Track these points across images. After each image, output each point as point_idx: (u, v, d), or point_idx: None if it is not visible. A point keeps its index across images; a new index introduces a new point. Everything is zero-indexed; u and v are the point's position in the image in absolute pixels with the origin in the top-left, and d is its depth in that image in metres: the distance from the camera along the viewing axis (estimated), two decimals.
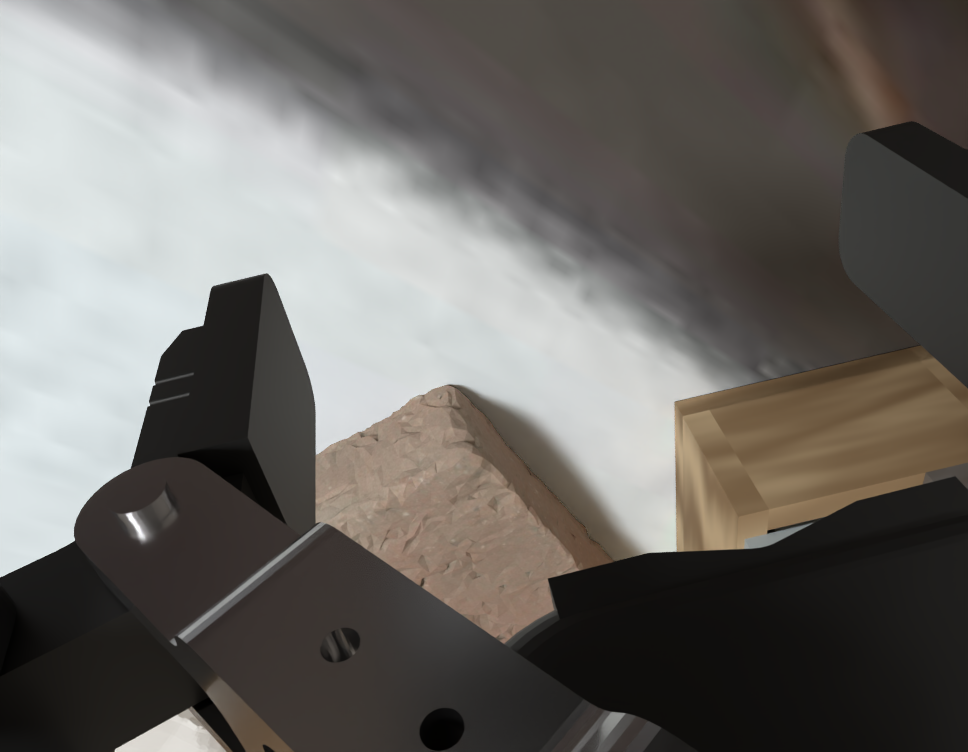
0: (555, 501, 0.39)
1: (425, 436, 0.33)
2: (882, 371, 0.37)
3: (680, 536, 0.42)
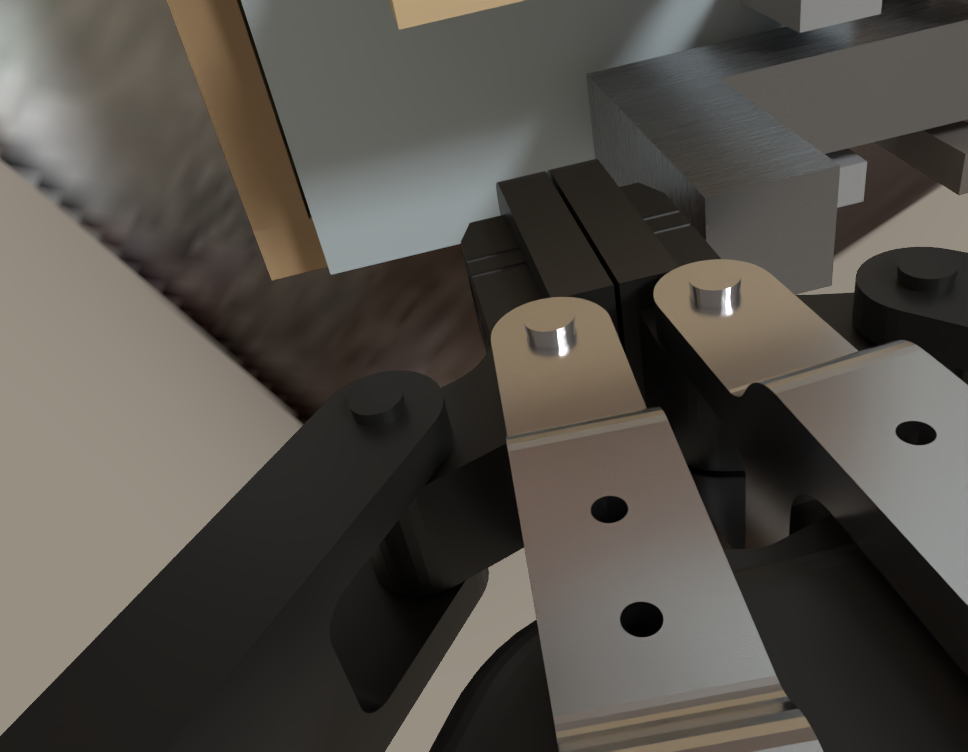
0: None
1: None
2: None
3: None
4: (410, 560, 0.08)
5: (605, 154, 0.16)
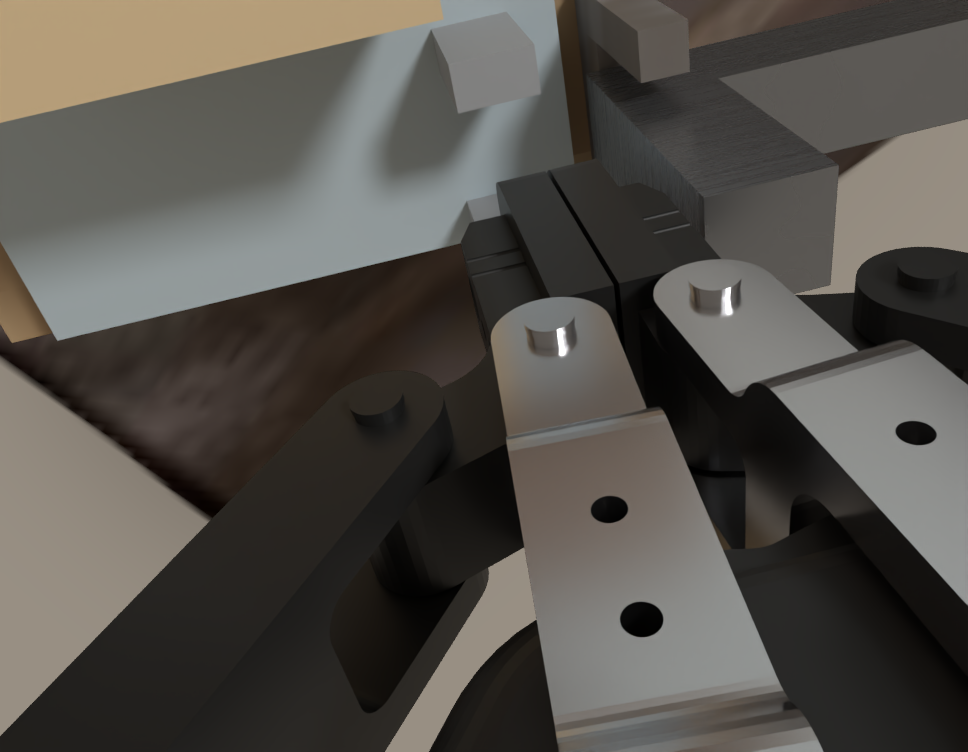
0: None
1: None
2: None
3: None
4: (410, 560, 0.08)
5: (604, 154, 0.16)
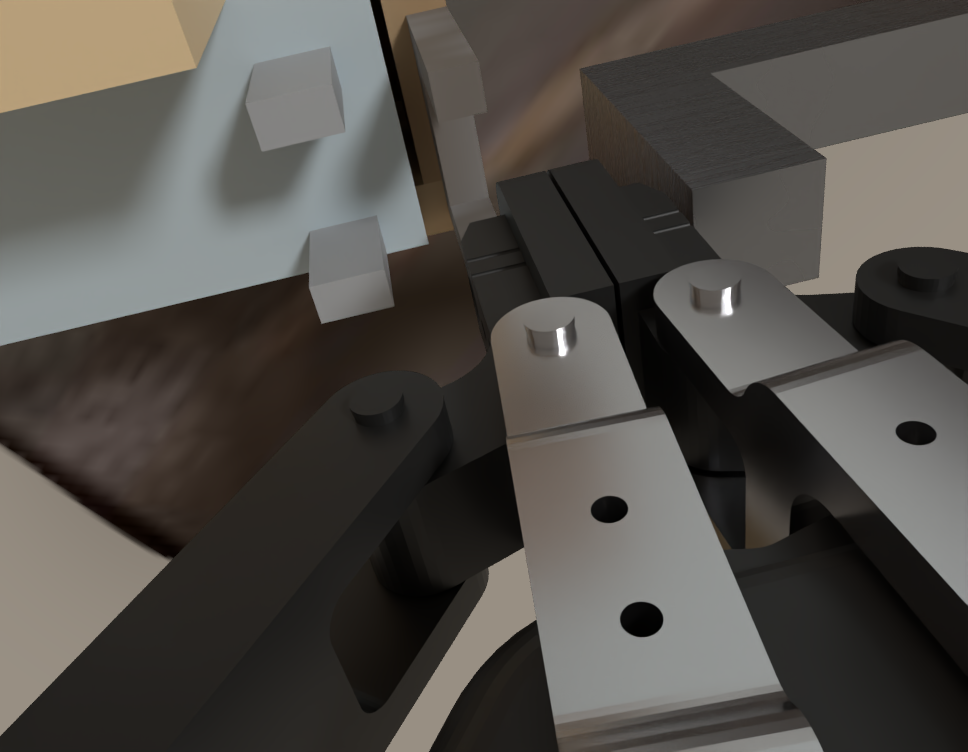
0: None
1: None
2: None
3: None
4: (410, 560, 0.08)
5: (598, 148, 0.16)
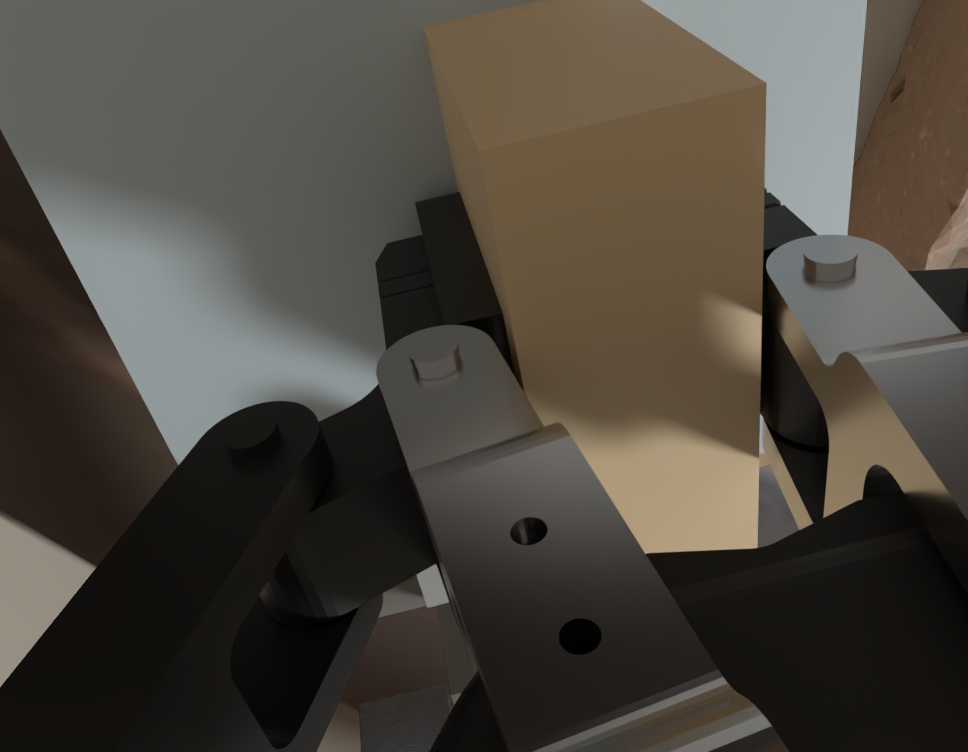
0: (941, 6, 0.19)
1: None
2: None
3: None
4: (303, 590, 0.08)
5: (388, 735, 0.17)
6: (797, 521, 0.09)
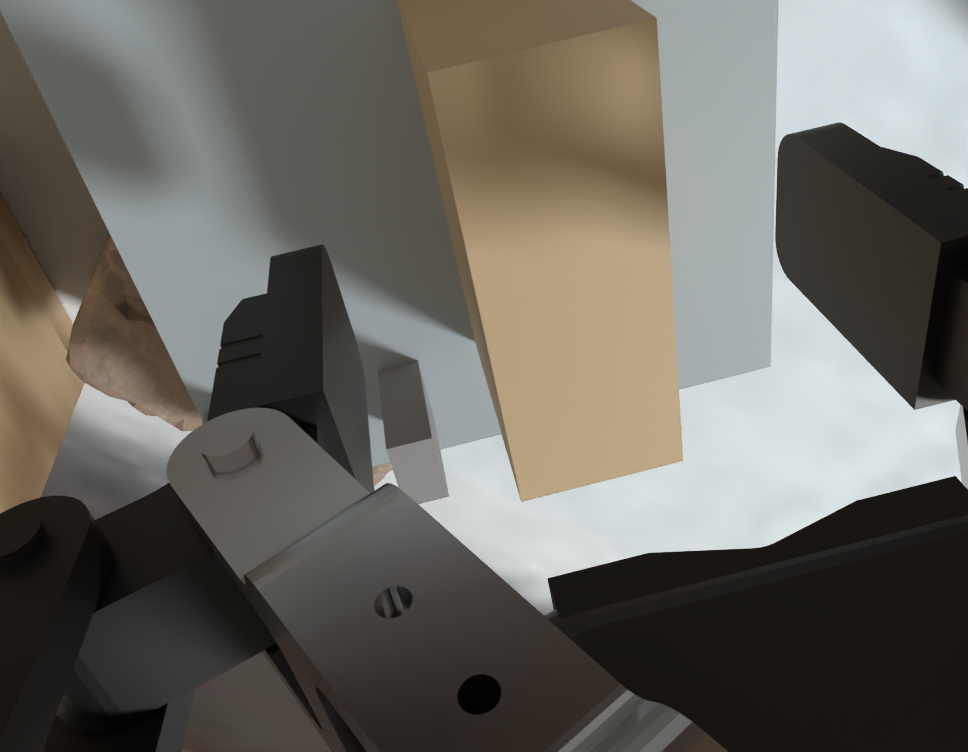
0: None
1: None
2: None
3: None
4: (106, 689, 0.08)
5: None
6: None
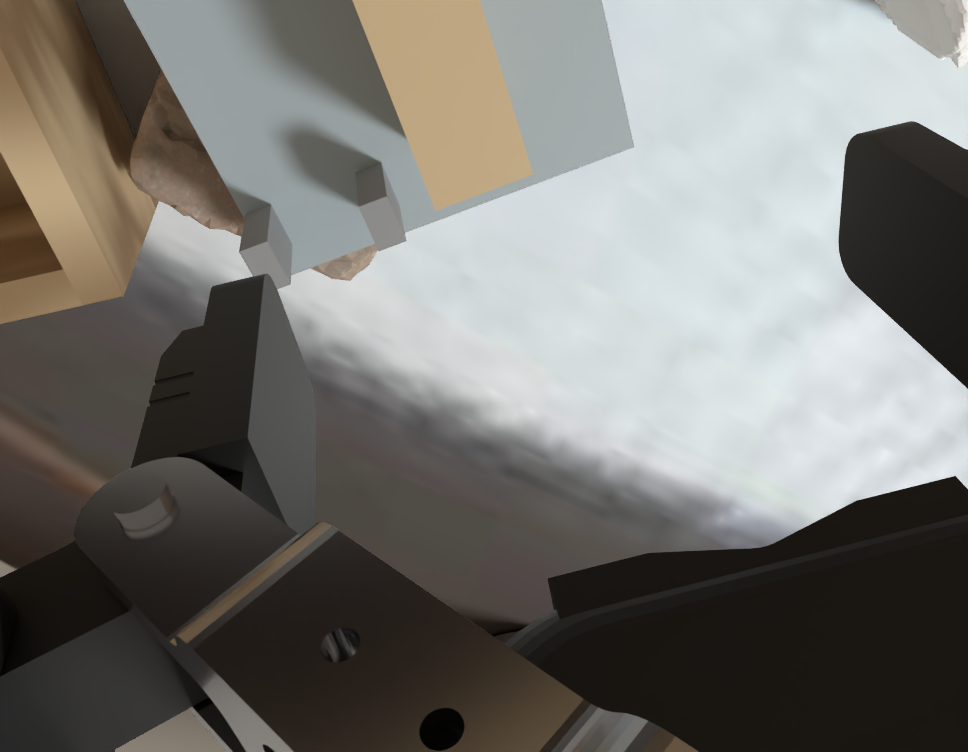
0: None
1: None
2: None
3: None
4: None
5: None
6: None
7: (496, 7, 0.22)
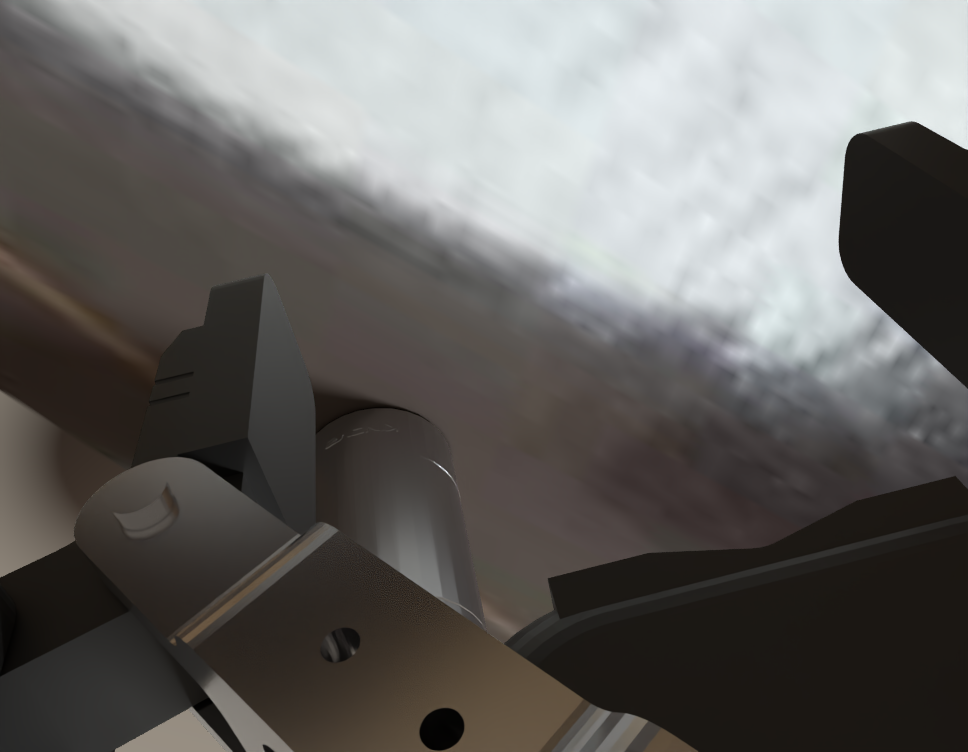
0: None
1: None
2: None
3: None
4: (20, 751, 0.07)
5: None
6: None
7: None
